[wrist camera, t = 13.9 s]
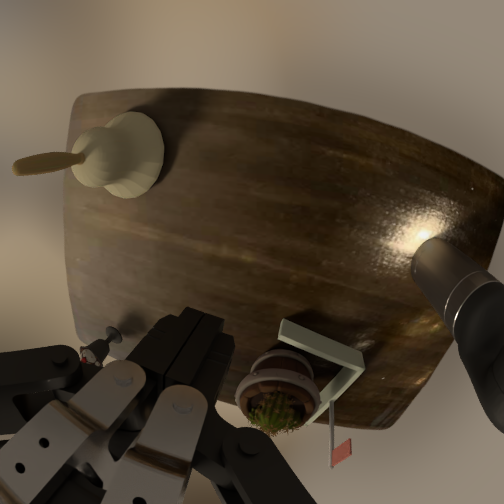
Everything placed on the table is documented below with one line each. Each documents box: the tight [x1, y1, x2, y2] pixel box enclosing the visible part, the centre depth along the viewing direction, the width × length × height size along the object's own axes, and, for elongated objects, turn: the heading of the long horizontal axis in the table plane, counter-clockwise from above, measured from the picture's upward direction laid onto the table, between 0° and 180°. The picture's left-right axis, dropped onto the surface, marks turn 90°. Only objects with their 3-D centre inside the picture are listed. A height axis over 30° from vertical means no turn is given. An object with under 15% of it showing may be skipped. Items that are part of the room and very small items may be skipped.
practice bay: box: [235, 318, 365, 469], centre depth 41 cm, size 17×20×21 cm
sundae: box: [80, 327, 122, 367], centre depth 51 cm, size 7×7×15 cm
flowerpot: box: [235, 349, 322, 437], centre depth 42 cm, size 14×15×20 cm
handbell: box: [12, 111, 164, 199], centre depth 31 cm, size 15×15×25 cm
